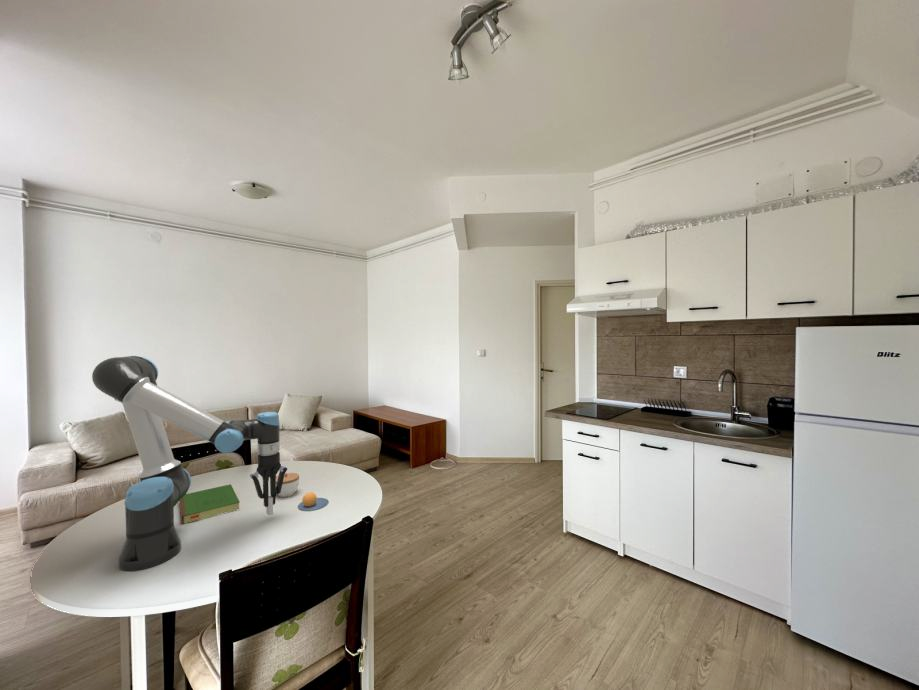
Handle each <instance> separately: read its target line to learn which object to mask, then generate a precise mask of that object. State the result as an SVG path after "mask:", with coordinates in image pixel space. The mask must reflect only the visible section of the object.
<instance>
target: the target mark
mask: <svg viewBox="0 0 919 690" xmlns="http://www.w3.org/2000/svg"><path fill="white" fill-rule="evenodd" d="M329 503H330V502H329V499H327V498H326V497H325V498H324V497H317V500H316V502H315V504H314V505H312V506H310V507H307V506H305V505H304V504H303V502H302V501H301V502H300V503H298V505H297V509H298V510H300V511H303V512H312V511H317V510H321V509H323V508H325V507H326V506H328V504H329Z"/></svg>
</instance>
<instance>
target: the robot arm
mask: <svg viewBox="0 0 919 690" xmlns="http://www.w3.org/2000/svg"><path fill="white" fill-rule="evenodd" d="M158 370H159V369H158V367H157V364H155V363H154V362H153V361H152V360H151V359H149V358H146V357H143V356H138V355H129V356H120V357H119V356H116V357H111V358H107V359H105V360H104V359H103V361H101V362H99V363H98V364H97V365H96V366H95V368H94V369H93V371H92V372H91V373H92V374H91V378H92V383H93V385H94V386H95V388H96V389H97V390H98V391H100V392H101V393H103V394H105V395H106V396H109V397H111V398H113V399H114V401H117V402H118V403H121V404H122V406H123V409H124V413H125V416H126V420H127V421H128V425H129V429H130V432H131V435H132V438H133V441H134V444H135V448H136V451H137V453H138V457H139V460H140V463H141V466H142V469H143V470H142V472H141V473H140V475H139V479H140V481H138V482H136V483H134V484H133V485H131V486H129V488H128V489H126V493H125V498H124V506H125V507H124V509H125V512H124V513H125V541H124V544H123V546H122V549H121V551H120V554H119V558H118V568H119V569H120V570H123V571H127V572H128V571H129V572H130V571H131V572H132V571H139V570H140V571H141V570H144V569H148V568H152V567H155V566H158V565H160V564H163V563H164V562H167V561H168V560H170V559H171V558H174V557H175V556H176V555H177V554H178V553H180V551H181V548H182V541H181V538H180V535H179V534H178V532H177V530H176V528H175V521H174V520H175V518H174V515H175V513H174V510H175V506H176V505H177V504H178V503H180V500H181V499H182V498H183V497H184V496H185V495H186V494H188V492H189V489H190V487H191V484H192V478H191V474H190V473H189V472H188V471H187V470H186V469H184V467H183V465H182V462H181V461H180V460H178V459H175V457H174V454H173V451H172V449H171V445H170V442H169V437H168V435H167V434H168V433H167V432H166V428H165V426H164V422H163V420H165V421H168V422H170V423H171V424H173V425H175V426H177V427H179V428H181V429H184V430H185V431H187V432H190V433H192V434H194V435H195V436H197V437H199V438H202V439H203V440H206V441H207V442H210V443H211V444H213V445H214V446H215V448H216V450H217V451H219V452H220V453H222V454H228V453H232V452H234V451H237V450H238V449H239V448H240V447H241V446H242V445H243V443H244V441H247V440H248V441H249V440H257V454H258V455H257V468H256V471H255V472H254V473H251V474H250V475H249V477H250V478H251V479H252V480H253V485H254V487H255V490H256V495H257V497H258V498H259V499H263V506H264V507H265V508H266V509H265V510H266V511H265V512H266V515H267V516H273V515H274V505H276V497H277V496H278V495H277V494H279V493H280V492H281V488H282V484H283V479H284V475H285V473H287V471H288V468H287V467H286V466H285V465H284V466H283V465H282V463H281V453H280V449H281V448H280V444H281V443H280V424H281V423H280V416H279V413H278V412H276V411H266V412H260V413H258V414H257V415H256V418H254V419H240V420H237V419H235V420H234V419H231V420H229V421H228V420H225V421H224V420H222V419H221V418H219V417H217V416H216V415H213V414H211V413H209V412H208V411H205V410H204V409H202V408H200V407H198V406H196V405H194V404H193V403H191V402H189V401H187V400H185V399H183V398H181V397H179V396H177V395H176V394H174V393H171V392H170V391H167V390H165V389H164V388H162V387H160V386H158V383H157V379H158V376H159V371H158ZM277 474H278V475H279V476H278V475H277ZM259 475H260V477H262V478H261V479H262V487H261V484H260V480H259V479H258V478H259ZM276 476H278V481H277V485H276ZM269 492H270V493H269Z"/></svg>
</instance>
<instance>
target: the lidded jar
mask: <svg viewBox="0 0 919 690" xmlns="http://www.w3.org/2000/svg"><path fill="white" fill-rule="evenodd" d="M278 476H279V474H278V475H276V485H277V481H278ZM299 484H300V474H298V473H296V472H286V473H285V475H284V479H283V484H282V488H281V492H280V493H279V494H277V495H276V496H278V497H279V496H280V498H287V496H288V497H291V496H293V495H294V494H295V492H296V491H297V490H298V488H299Z"/></svg>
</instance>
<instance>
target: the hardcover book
mask: <svg viewBox="0 0 919 690" xmlns="http://www.w3.org/2000/svg"><path fill="white" fill-rule="evenodd" d="M179 508H180V519H182V520H181V525H182V524H183V525H185V524H189V523H193V522H196V521H195V520H197V521H199V520H198V519H201V520H203V519H202V518H205V519H207V518H206V517H208V518H211V517H210V516H212V517H215V516H214V515H216V516H219V515H218V514H220V515H222V514H221V513H224V514H226V513H225V512H228V513H230V512H229V511H232V512H234V511H233V510H235V511H238V510H237V509H239V510H240V500H239V498H238V496H237V494H236V492H235V490H234V487H233V486H232V484H226V485H225V484H224V485H221V486H217V487H211V488H207V489H203V490H200V491H199V490H198V491H193V492H190V493H189V492H187V493H186V495H185V496H184V497H183V498H182V499H181V500H180V501H179ZM192 521H193V522H192ZM188 522H189V523H188Z"/></svg>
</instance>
